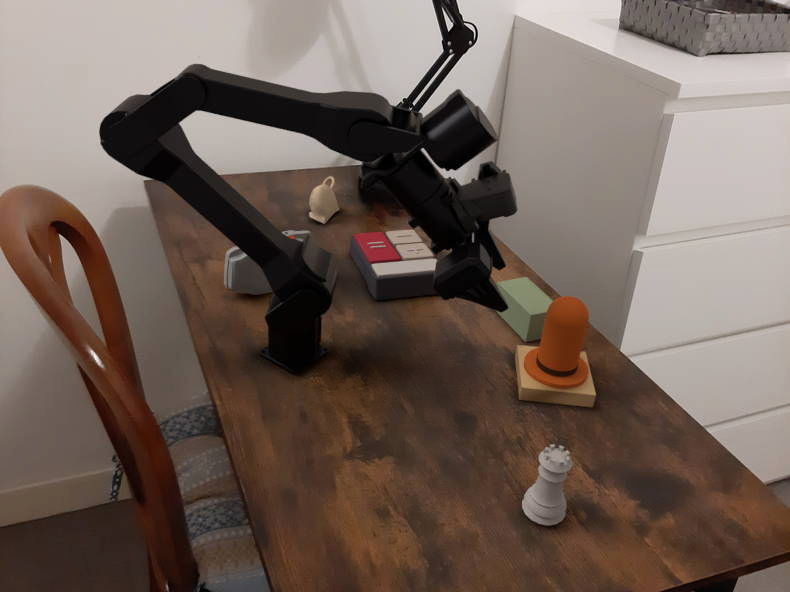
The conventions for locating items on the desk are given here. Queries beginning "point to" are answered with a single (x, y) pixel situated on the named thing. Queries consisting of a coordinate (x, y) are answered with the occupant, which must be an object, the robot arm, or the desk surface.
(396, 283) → the calculator
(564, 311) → the hat
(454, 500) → the desk surface
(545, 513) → the rook chess piece
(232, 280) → the handheld gaming console
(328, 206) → the decorative ornament
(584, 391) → the stand
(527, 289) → the sage box
